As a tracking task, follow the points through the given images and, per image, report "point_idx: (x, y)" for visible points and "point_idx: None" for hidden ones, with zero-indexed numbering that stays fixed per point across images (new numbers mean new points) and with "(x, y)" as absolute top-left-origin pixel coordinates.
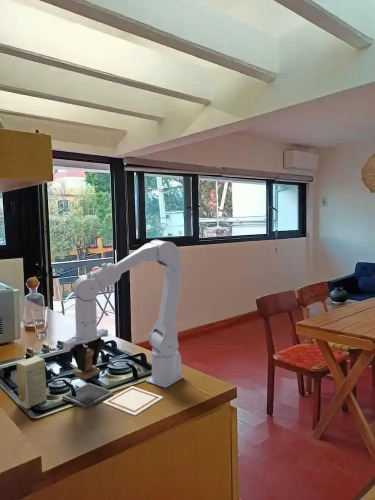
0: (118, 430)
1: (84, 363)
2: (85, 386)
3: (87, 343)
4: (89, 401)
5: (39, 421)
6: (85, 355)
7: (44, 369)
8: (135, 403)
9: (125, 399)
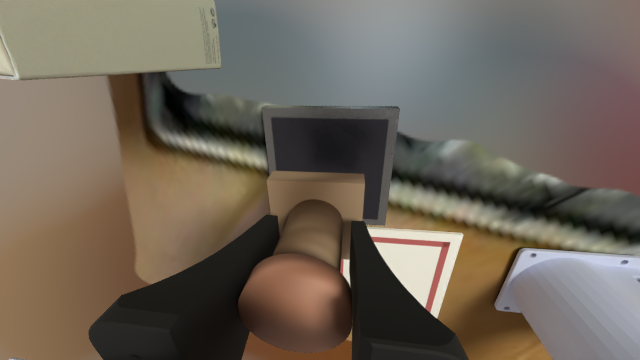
0: None
1: None
2: (361, 126)
3: (358, 319)
4: None
5: (160, 159)
6: (245, 338)
7: (102, 74)
8: None
9: None
